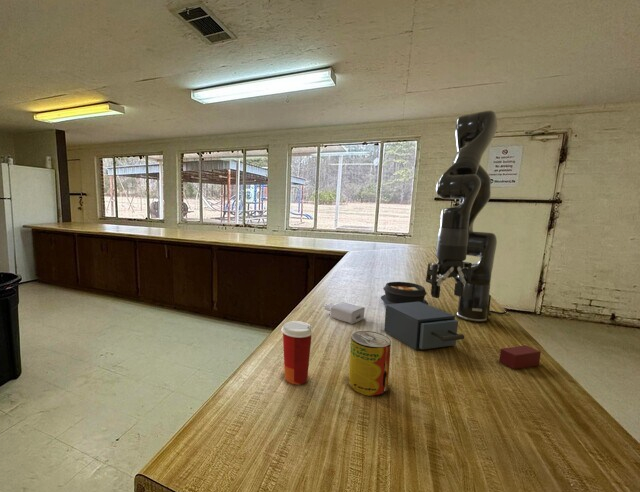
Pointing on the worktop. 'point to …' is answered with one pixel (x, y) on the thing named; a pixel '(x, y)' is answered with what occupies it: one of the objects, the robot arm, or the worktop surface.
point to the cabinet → (410, 320)
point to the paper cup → (296, 351)
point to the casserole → (403, 293)
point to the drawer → (438, 333)
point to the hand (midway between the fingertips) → (446, 296)
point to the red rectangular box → (519, 357)
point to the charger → (346, 312)
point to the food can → (369, 363)
